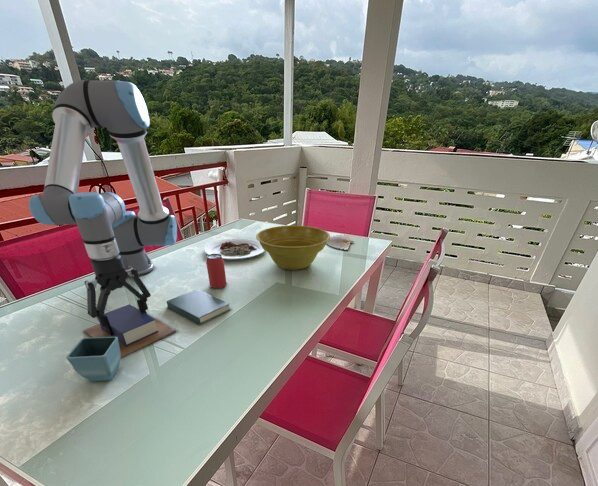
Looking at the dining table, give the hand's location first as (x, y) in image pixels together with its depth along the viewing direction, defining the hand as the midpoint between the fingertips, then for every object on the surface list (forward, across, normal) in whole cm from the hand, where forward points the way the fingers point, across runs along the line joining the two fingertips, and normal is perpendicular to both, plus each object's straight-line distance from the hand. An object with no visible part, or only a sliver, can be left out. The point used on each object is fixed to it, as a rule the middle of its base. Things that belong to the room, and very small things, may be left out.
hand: (128, 326), depth 101 cm
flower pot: (+2, -15, -15) cm, 21 cm away
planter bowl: (+2, +77, -2) cm, 77 cm away
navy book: (+1, 0, 0) cm, 1 cm away
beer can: (+2, +40, +6) cm, 40 cm away
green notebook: (+2, +23, -4) cm, 23 cm away
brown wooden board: (+2, 0, 0) cm, 2 cm away
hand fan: (+2, +119, 0) cm, 119 cm away
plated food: (+2, +72, +31) cm, 78 cm away
